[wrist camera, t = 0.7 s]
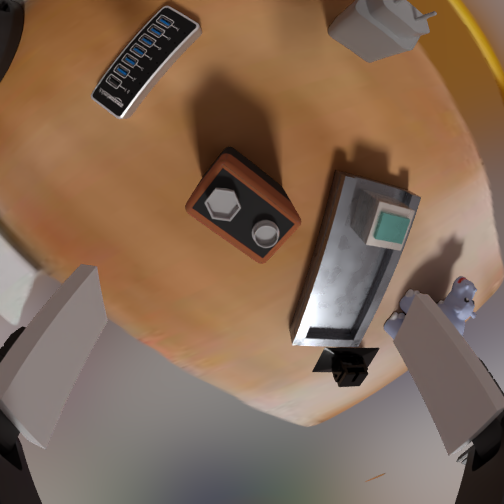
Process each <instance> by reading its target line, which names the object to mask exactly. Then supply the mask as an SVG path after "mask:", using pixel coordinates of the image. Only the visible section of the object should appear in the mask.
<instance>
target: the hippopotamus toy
mask: <svg viewBox="0 0 504 504" xmlns="http://www.w3.org/2000/svg"><path fill="white" fill-rule="evenodd" d="M476 291H477V289H476V288H475V286H474V284H473V283H472V282H470V281H469V280H467V279H466V278H465V277H462V276H460V277H458V278H457V279H456V280H455V281H454V283H453V286H452V290H451V292H450V293H449V294H448V295H447V297H446V298H445V300H444V301H442V300H440V301H439V302H438V303H437V305H438V307H439V308H440V309H441V310H442V311H443V313H444V314H445V315H446V316H447V318H448V319H449V320H450V321H451V323H452V324H453V325H454V326H455V328H456V329H457V330H458V331H459V333H460V334H461V335H462V336H463V333H464V328H465V321H464V320H466V319H467V318H468V317H469V316H471V317H473V318H475V317H476V314H475V312H473V309H474V301H473V300H472V299H473V297H474V294H475V292H476ZM415 294H422V293H420V292H419V291H418V290H415V291H413V290H412V289H410V290H408V291H407V292H406V295H405V296H404V297H403V298H402V299H401V301H400V308H401V309H402V310H403V311H404V312H405V313H406V314H407V312H408V310H409V308H410V306H411V303H412V301H413V299H414V297H415ZM405 316H406V315H405V314H404V313H399V314H398V313H397V312H394V313H393V314H392V316H391V317H390V319H388V320H387V322H386V323H385V325H384V330H385V331H386V332H387V333H388V334H389V335H390V336H391V337H392V338H393V339H395V337H396V335H397V333H398V331H399V329H400V327H401V325H402V323H403V321H404V319H405Z"/></svg>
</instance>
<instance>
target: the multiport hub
mask: <svg viewBox="0 0 504 504" xmlns="http://www.w3.org/2000/svg"><path fill="white" fill-rule="evenodd" d="M201 34H202V30H201V28H200V26H199V24H198V23H196V22H195V21H193V20H192V19H190V18H188V17H187V16H185V15H184V14H182V13H180V12H178V11H177V10H175V9H173V8H172V7H170V6H164V7H163V8H161V9H160V10H159V11H158V12H157V13H156V14H155V15H154V16H153V17H152V18H151V20H150V21H149V22H148V23H147V24H146V25H145V26H144V27H143V28H142V29H141V30H140V31H139V32H138V34H137V35H136V36H135V37H134V38H133V39H132V40H131V42H130V43H129V44H128V45H127V46H126V47H125V49H124V50H123V51H122V52H121V54H120V55H119V56H118V57H117V59H116V60H115V61H114V63H113V64H112V65H111V66H110V68H109V69H108V70H107V72H106V73H105V75H104V76H103V77H102V79H101V80H100V82H99V83H98V84H97V86H96V87H95V89H94V90H93V92H92V94H91V98H92V99H93V100H94V101H95V102H97V103H98V104H99V105H100V106H102V107H103V108H104V109H106V110H107V111H108V112H110V113H111V114H112V115H114V116H115V117H116V118H118V119H127V118H130V117H131V116H132V114H133V113H134V112H135V110H136V109H137V108H138V106H139V105H140V104H141V102H142V101H143V100H144V98H145V97H146V96H147V95H148V93H149V92H150V91H151V90H152V88H153V87H154V86H155V85H156V83H157V82H158V81H159V80H160V79H161V77H162V76H163V75H164V74H165V73H166V72H167V70H168V69H169V68H170V67H171V66H172V65H173V64H174V63H175V62H176V60H177V59H178V58H179V57H180V56H181V55H182V54H183V53H184V52H185V51H186V50H187V49H188V48H189V47H190V46H191V45H192V44H193V43H194V42H195V41H196V40H197V39H198V38H199V37H200V36H201Z"/></svg>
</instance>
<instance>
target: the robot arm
mask: <svg viewBox="0 0 504 504" xmlns="http://www.w3.org/2000/svg"><path fill="white" fill-rule="evenodd" d="M22 28H23V10H22V7H21V5H20V4H19V3H17V2H14V1H11V0H0V82H1V80H2V78H3V77H4V75H5V73H6V71H7V70H8V68H9V66H10V64H11V61H12V59H13V57H14V54H15V52H16V49H17V47H18V44H19V40H20V37H21V33H22ZM107 322H108V321H107V316H106V312H105V307H104V303H103V298H102V293H101V287H100V282H99V276H98V270H97V266H91V265H84V264H81V265H80V266H79V267H78V268H77V269H76V270H75V271H74V272H73V273H72V274H71V276H70V277H69V278H68V279H67V280H66V281H65V282H64V283H63V284H62V285H61V287H60V288H59V289H58V290H57V291H56V292H55V293H54V294H53V296H52V297H51V298H50V299H49V300H48V302H47V303H46V304H45V305H44V306H43V307H42V309H41V310H40V311H39V312H38V313H37V315H36V316H35V317H34V318H33V320H32V321H31V322H30V323H29V325H28V326H27V327H21V328H19V329H18V330H16V331H15V332H14V333H12V334H11V335H10V337H9V338H8V339H7V340H6V342H5V343H4V346H3V347H1V349H0V504H42V502H41V500H40V498H39V496H38V493H37V490H36V488H35V485H34V482H33V480H32V477H31V474H30V471H29V468H28V465H27V462H26V459H25V455H24V452H23V448H22V445H21V443H20V440H19V438H18V435H19V433H20V432H21V434H22V435H23V436H24V437H25V438H26V439H27V440H28V441H30V442H32V443H34V444H36V445H38V446H40V447H42V448H44V449H47V446H48V444H49V441H50V439H51V436H52V433H53V431H54V429H55V426H56V424H57V422H58V419H59V417H60V415H61V412H62V410H63V408H64V406H65V403H66V401H67V399H68V397H69V395H70V393H71V390H72V388H73V386H74V384H75V382H76V380H77V378H78V376H79V374H80V372H81V370H82V368H83V366H84V364H85V362H86V360H87V358H88V356H89V355H90V353H91V351H92V349H93V347H94V345H95V343H96V341H97V340H98V338H99V336H100V334H101V332H102V331H103V329H104V327H105V325H106V324H107ZM393 342H394V344H395V346H396V347H397V349H398V351H399V353H400V355H401V357H402V358H403V360H404V362H405V364H406V366H407V368H408V370H409V372H410V374H411V376H412V377H413V379H414V381H415V383H416V385H417V387H418V389H419V391H420V393H421V395H422V397H423V399H424V401H425V404H426V405H427V408H428V410H429V412H430V414H431V416H432V418H433V421H434V423H435V425H436V427H437V429H438V432H439V434H440V436H441V438H442V441H443V443H444V446H445V448H446V450H447V453H448V455H451V454H454V453H456V452H458V451H460V450H462V449H463V448H464V447H465V446H467V445H468V444H469V443H470V442H471V441H472V442H473V444H474V445H473V446H471V447H470V448H469V449H468V450H467V451H465V452H464V453H463V454H461V455H460V457H458V459H457V462H460V461H461V460H462V459H463V458H465V457H466V456H467V458H465V459H464V460H463V461H462V462H461V463H462V464H464V465H466V466H465V470H464V474H463V478H462V481H461V485H460V489H459V492H458V495H457V498H456V502H455V504H504V393H503V391H502V390H501V388H500V387H499V385H498V384H497V382H496V381H495V379H493V376H492V375H491V373H490V372H488V369H487V367H486V366H485V364H484V363H483V361H482V360H480V359H479V358H478V357H477V356H476V354H475V353H474V351H473V350H472V349H471V348H470V346H469V345H468V343H467V342H466V341H465V340H464V338H463V337H462V335H461V334H460V333H459V331H458V330H457V329H456V328H455V326H454V325H453V324H452V323H451V321H450V320H449V319H448V318H447V316H446V315H445V314H444V313H443V311H442V310H441V309H440V308H439V307H438V305H437V304H436V303H435V302H434V301H433V299H432V298H431V297H430V296H429V295H428V294H415V297H414V299H413V301H412V303H411V306H410V308H409V310H408V312H407V314H406V316H405V319H404V321H403V323H402V325H401V327H400V329H399V331H398V333H397V335H396V337H395V339H394V341H393Z"/></svg>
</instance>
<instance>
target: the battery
mask: <svg viewBox="0 0 504 504" xmlns="http://www.w3.org/2000/svg"><path fill="white" fill-rule="evenodd" d="M185 209H186V211H187V213H188V214H190V215H191V216H192V217H194V218H195V219H197V220H198V221H199V222H201V223H202V224H204V225H205V226H206V227H208V228H209V229H211V230H212V231H214V232H215V233H216V234H218V235H219V236H221V237H222V238H223V239H225V240H226V241H228V242H229V243H230V244H232V245H233V246H235V247H236V248H238V249H239V250H240V251H242V252H243V253H245V254H246V255H248V256H249V257H250V258H252V259H253V260H255V261H256V262H258V263H261V264H263V263H265V262H266V261H267V260H268V259H269V258H270V257H271V256H272V255H273V254H274V253H275V252H276V251H277V250H278V249H279V248H280V247H281V246H282V245H283V243H284V242H285V241H286V240H287V239H288V238H289V237H290V236H291V235H292V234H293V233H294V232H295V231H296V230H297V228H298V227H299V226H300V225H301V219H300V217H299V215H298V213H297V211H296V210H295V208H294V206H293V204H292V203H291V201H290V199H289V198H288V196H287V194H286V192H285V191H284V189H283V188H282V186H281V185H279V184H278V183H277V182H276V181H275V180H273V179H272V178H271V177H270V176H268V175H267V174H266V173H265V172H263V171H262V170H261V169H260V168H258V167H257V166H256V165H255V164H253V163H252V162H251V161H249V160H248V159H247V158H246V157H244V156H243V155H242V154H240V153H239V152H238V151H237V150H235V149H234V148H232V147H226V148H225V149H224V151H223V152H222V153H221V154H220V156H219V157H218V158H217V159H216V161H215V162H214V163H213V164H212V166H211V167H210V168H209V170H208V171H207V172H206V173H205V175H204V176H203V177H202V179H201V181H200V182H199V184H198V185H197V187H196V188H195V190H194V192H193V193H192V195H191V197H190V198H189V200H188V201H187V203H186V205H185Z"/></svg>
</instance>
